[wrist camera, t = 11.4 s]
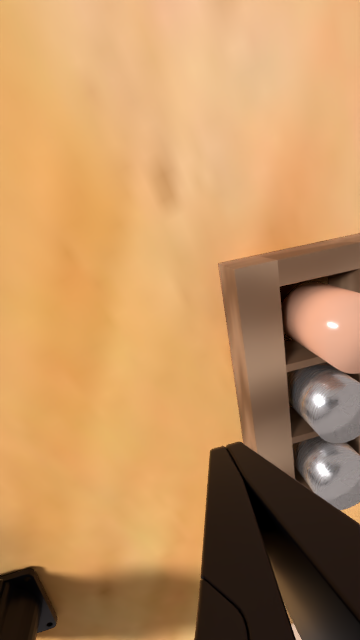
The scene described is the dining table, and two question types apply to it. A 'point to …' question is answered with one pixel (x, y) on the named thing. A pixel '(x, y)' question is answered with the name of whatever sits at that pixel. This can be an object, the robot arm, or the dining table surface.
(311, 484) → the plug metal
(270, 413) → the brown wooden tray
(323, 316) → the peach egg-shaped piece
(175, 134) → the dining table surface
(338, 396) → the plug metal mid
